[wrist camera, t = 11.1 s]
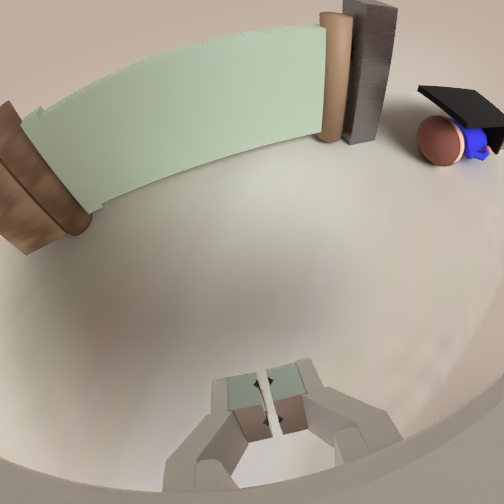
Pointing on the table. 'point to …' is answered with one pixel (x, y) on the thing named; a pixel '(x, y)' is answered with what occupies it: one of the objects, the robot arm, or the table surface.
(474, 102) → the figurine character
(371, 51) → the latch post
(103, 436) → the table surface
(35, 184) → the wooden hinge block
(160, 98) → the gate
